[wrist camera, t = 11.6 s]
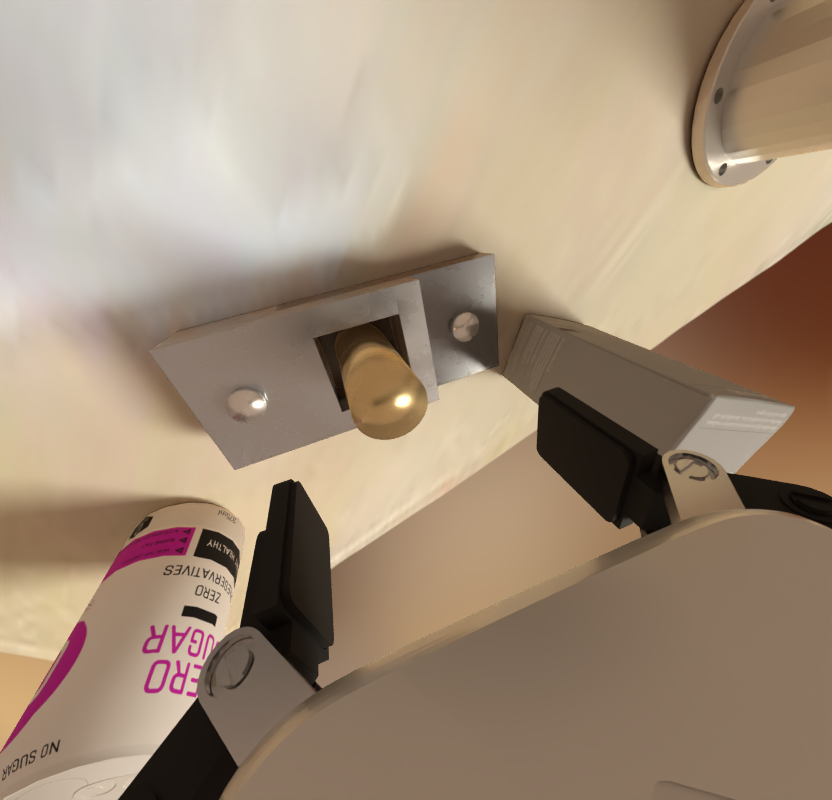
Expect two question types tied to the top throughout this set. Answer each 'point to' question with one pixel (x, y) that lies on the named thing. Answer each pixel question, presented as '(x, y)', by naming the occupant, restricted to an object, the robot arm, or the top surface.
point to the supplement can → (129, 660)
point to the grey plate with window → (305, 361)
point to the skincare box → (644, 391)
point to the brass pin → (378, 384)
